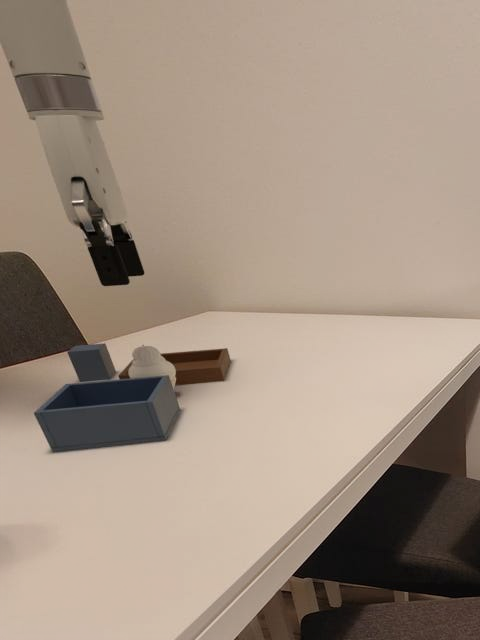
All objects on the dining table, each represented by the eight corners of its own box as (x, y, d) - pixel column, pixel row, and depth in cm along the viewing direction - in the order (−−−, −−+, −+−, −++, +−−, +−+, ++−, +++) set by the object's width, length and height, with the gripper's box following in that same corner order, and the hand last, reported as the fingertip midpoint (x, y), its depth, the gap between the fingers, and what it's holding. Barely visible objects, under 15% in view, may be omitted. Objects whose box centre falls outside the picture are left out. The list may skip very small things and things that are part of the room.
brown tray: (123, 390, 88) (118, 375, 87) (140, 368, 99) (136, 355, 98) (224, 381, 91) (220, 366, 90) (230, 361, 102) (227, 348, 100)
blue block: (79, 382, 93) (66, 351, 90) (87, 375, 96) (74, 345, 93) (110, 379, 94) (98, 349, 91) (116, 373, 97) (105, 343, 94)
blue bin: (52, 453, 68) (33, 412, 65) (81, 420, 77) (65, 383, 75) (166, 441, 70) (152, 401, 67) (180, 410, 80) (168, 374, 77)
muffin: (165, 389, 88) (147, 338, 84) (193, 394, 86) (176, 341, 82) (128, 400, 84) (108, 347, 80) (157, 406, 82) (137, 351, 77)
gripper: (49, 110, 71) (109, 275, 82) (-6, 93, 58) (75, 291, 69) (115, 109, 73) (166, 271, 83) (77, 92, 59) (143, 287, 70)
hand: (124, 280), depth 76 cm, fingers open, 9 cm apart
